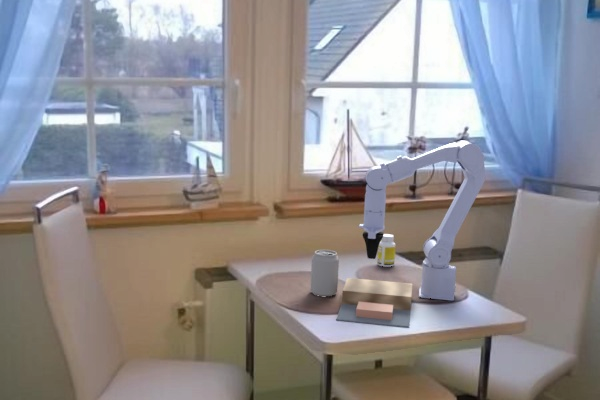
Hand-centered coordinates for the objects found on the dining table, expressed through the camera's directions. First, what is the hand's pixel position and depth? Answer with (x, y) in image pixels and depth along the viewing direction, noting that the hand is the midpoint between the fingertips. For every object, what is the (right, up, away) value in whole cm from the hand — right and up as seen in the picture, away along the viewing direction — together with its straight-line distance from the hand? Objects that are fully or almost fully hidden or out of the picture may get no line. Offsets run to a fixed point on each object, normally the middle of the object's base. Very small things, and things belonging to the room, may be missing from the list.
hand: (371, 258), depth 202 cm
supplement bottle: (+7, -5, +30) cm, 32 cm away
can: (-13, -10, -1) cm, 17 cm away
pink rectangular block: (-1, -11, -17) cm, 21 cm away
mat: (-1, -13, -17) cm, 22 cm away
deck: (+1, -11, -6) cm, 13 cm away
